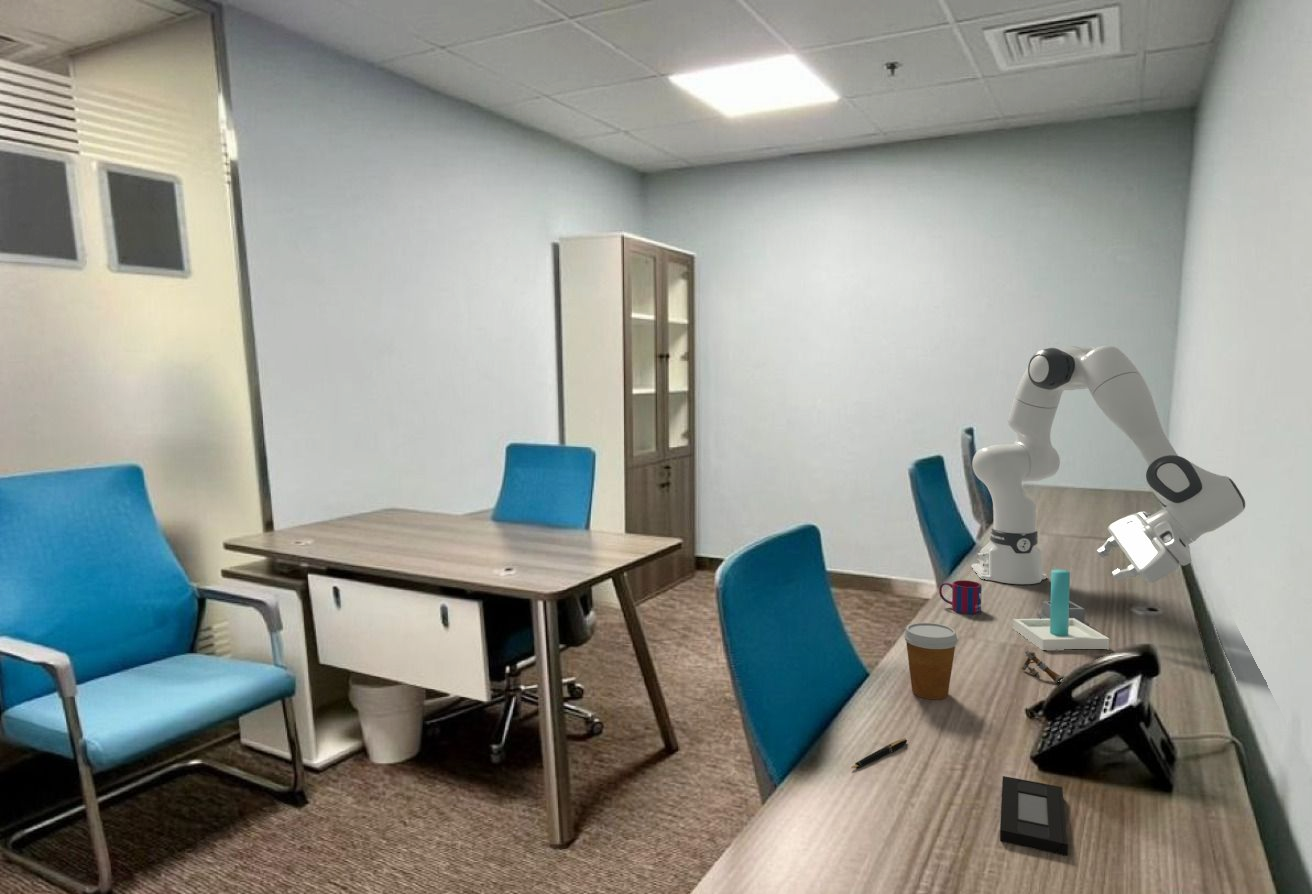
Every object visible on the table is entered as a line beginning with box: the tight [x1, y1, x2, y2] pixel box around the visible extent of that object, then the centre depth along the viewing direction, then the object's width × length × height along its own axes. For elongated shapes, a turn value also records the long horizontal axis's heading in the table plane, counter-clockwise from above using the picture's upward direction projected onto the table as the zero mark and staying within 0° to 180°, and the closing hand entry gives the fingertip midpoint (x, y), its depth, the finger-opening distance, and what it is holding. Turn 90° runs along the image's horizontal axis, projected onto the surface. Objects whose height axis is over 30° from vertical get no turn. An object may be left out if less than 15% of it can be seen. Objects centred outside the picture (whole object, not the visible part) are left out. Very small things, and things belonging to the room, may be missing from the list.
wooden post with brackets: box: [1021, 650, 1065, 685], centre depth 147 cm, size 2×8×4 cm, turn 29°
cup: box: [938, 579, 983, 615], centre depth 191 cm, size 7×10×7 cm
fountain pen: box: [850, 738, 908, 769], centre depth 118 cm, size 14×1×2 cm, turn 127°
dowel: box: [1050, 569, 1071, 636], centre depth 168 cm, size 4×4×14 cm
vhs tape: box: [999, 776, 1069, 857], centre depth 101 cm, size 8×14×2 cm, turn 154°
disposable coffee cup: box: [903, 622, 959, 700], centre depth 141 cm, size 10×10×12 cm
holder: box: [1037, 600, 1090, 627], centre depth 180 cm, size 8×8×4 cm
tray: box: [1012, 618, 1110, 651], centre depth 168 cm, size 14×14×2 cm
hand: (1106, 565), depth 172 cm, fingers open, 8 cm apart
